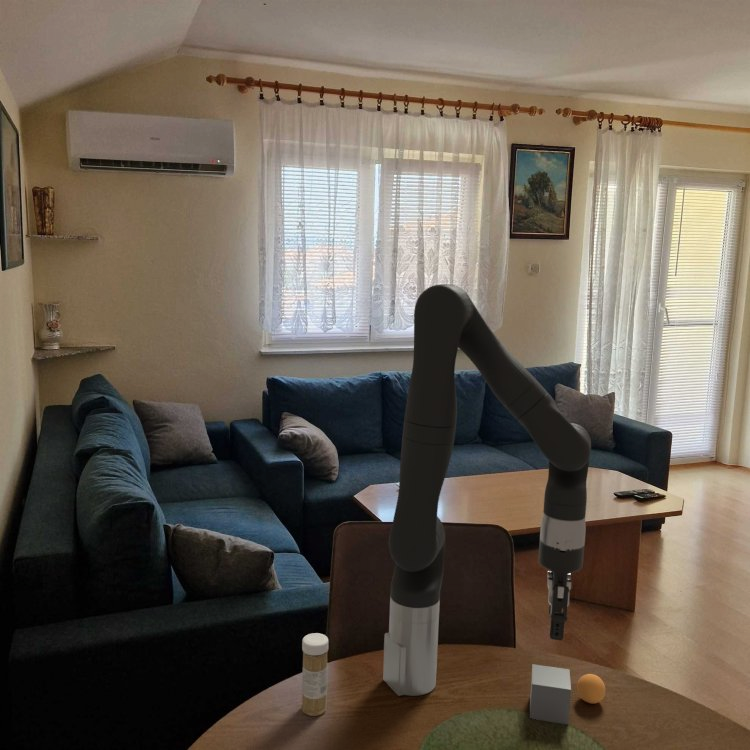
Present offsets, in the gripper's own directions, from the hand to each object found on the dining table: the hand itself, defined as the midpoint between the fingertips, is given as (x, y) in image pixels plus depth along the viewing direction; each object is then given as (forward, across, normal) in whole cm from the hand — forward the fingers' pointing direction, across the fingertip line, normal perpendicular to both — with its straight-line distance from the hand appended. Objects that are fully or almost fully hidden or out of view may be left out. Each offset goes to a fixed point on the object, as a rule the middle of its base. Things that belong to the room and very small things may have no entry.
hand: (555, 626), depth 127 cm
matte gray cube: (+16, 0, 0) cm, 16 cm away
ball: (+14, -5, +8) cm, 16 cm away
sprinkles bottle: (+16, +11, -41) cm, 45 cm away
